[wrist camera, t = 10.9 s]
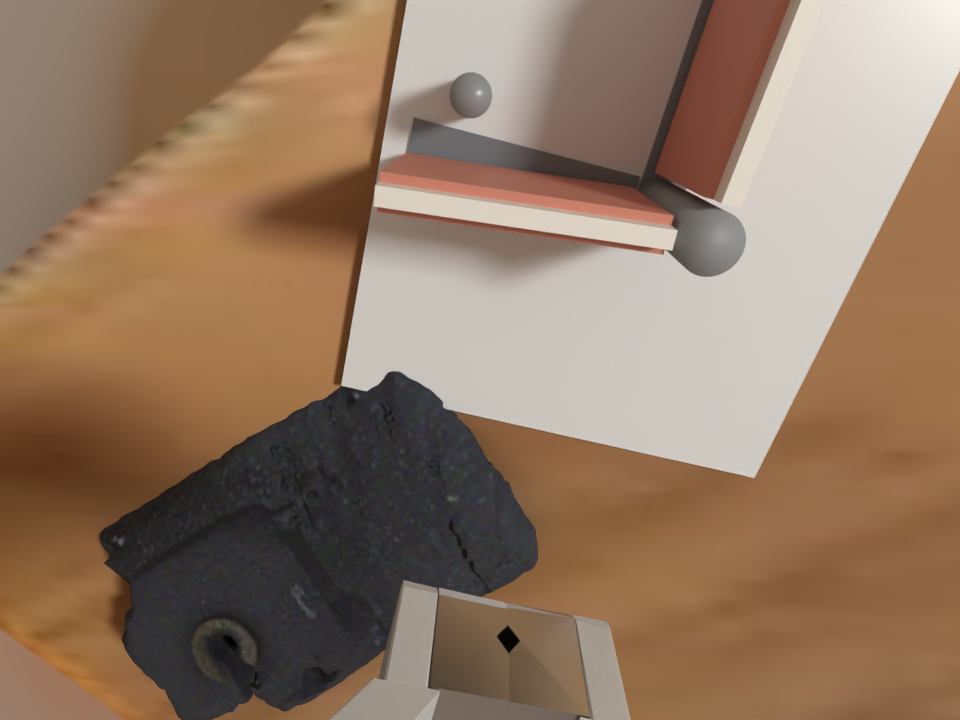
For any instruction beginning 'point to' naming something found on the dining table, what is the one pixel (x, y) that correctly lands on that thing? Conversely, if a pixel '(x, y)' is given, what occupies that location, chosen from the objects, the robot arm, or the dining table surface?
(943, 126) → the dining table surface
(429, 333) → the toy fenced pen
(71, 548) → the dining table surface
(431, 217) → the fence panel
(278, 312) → the dining table surface
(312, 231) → the dining table surface
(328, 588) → the dark slate chunk
